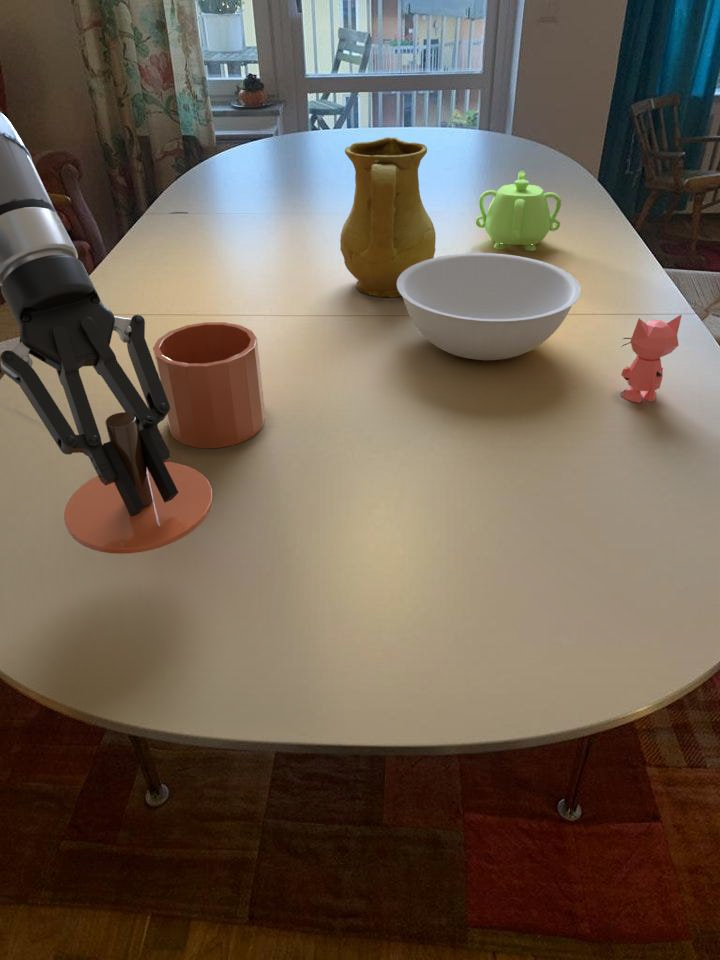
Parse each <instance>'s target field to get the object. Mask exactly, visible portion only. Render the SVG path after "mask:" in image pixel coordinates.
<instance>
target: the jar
mask: <svg viewBox="0 0 720 960" xmlns="http://www.w3.org/2000/svg"><path fill="white" fill-rule="evenodd" d="M152 351H153V357H154V361H155V367H156V370H157V373H158V375H159V378H160V381H161V383H162V386H163V389H164V392H165V394H166V397H167V400H168V402H169V405H170V410H169V412H168V413H167V415H166V417H165V418H166V421H167V422H166V423H167V426H168V428H169V433H170V435H171V436H172V437H173V439H175V440H176V441H177V442H179V443H181V444H182V445H185V446H188V447H192V448H199V449H219V448H220V449H221V448H225V447H231V446H235V445H238V444H240V443H243V442H246V441H248V440H249V439H251V438H253V437H254V436H255V435H257V434H258V433H259V432H260V431H261V429H262V428H264V424H265V421H266V417H265V416H266V410H265V400H264V391H263V380H262V372H261V362H260V353H259V344H258V338H257V336H256V335H255V333H254V332H253V330H252V329H249V328H247V327H246V326H244V325H240V324H236V323H231V322H225V321H224V322H223V321H207V322H205V321H204V322H199V323H193V324H187V325H184V326H181V327H177V328H175V329H171V330H169V331H168V332H166V333H165V334H163V335H162V336H161V337H159V338H158V339H157V340H156V342H155V344H154V346H153V348H152Z"/></svg>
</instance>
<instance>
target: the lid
mask: <svg viewBox="0 0 720 960" xmlns="http://www.w3.org/2000/svg"><path fill="white" fill-rule="evenodd" d="M104 423H105V427H106V431H107V436H108V439H109V441H112V442H113V444H114V446H115V448H116V450H117V452H118V454H119V456H120V458H121V460H122V462H123V464H124V466H125V469H126V471H127V473H128V475H129V477H130V479H131V481H132V483H133V485H134V487H135V489H136V491H137V493H138V495H139V497H140V499H141V501H142V503H143V505H144V508H143V509H142V511H141V512H140V513H139V514H137V515H135V516H132V517H131V516H130V514H129V512H128V510H127V508H126V506H125V504H124V502H123V500H122V498H121V495H120V493H119V491H118V489H117V487H116V485H115V483H111V484H108V485H106V486H105V485H104V484H103V483H102V482H101V481H100V479H99V477H98V475H96V476H94V477H92V478H91V479H89V480H88V481H87V482H84V484H82V485H81V486H80V487H79V488H78V489H76V491H74V492H73V494H72V495H71V496H70V498H69V499H68V501H67V503H66V505H65V509H64V512H63V513H64V514H63V519H64V524H65V527H66V530H67V532H68V534H69V535H70V536H71V538H72V539H73V540H74V541H76V542H77V543H78V544H80V545H81V546H83V547H85V548H87V549H90V550H91V551H92V550H93V551H96V552H100V553H107V554H119V555H123V554H136V553H144V552H148V551H153V550H156V549H159V548H162V547H165V546H169V545H171V544H173V543H176V542H177V541H179V540H181V539H183V538H185V537H186V536H188V535H190V534H191V533H193V531H195V530H196V529H197V528H198V527H200V526H201V525H202V524H203V522H204V521H205V520H206V519H207V518H208V515H209V514H210V512H211V510H212V507H213V502H214V495H213V489H212V485H211V483H210V481H209V480H208V479H207V478H206V476H204V474H202V473H201V472H200V471H198V470H197V469H195V468H193V467H191V466H188V465H185V464H182V463H177V462H173V461H167V462H164V464H165V466H166V468H167V470H168V472H169V474H170V476H171V478H172V480H173V482H174V484H175V486H176V488H177V490H178V492H179V493H178V494H177V495H176V496H175V497H174V498H173V499H172V500H170V501H168V502H164V500H163V498H162V496H161V494H160V492H159V490H158V488H157V486H156V484H155V482H154V480H153V478H152V476H151V474H150V472H149V470H148V468H147V466H146V462H145V457H144V452H143V448H142V443H141V438H140V434H139V429H138V425H137V420H136V416H135V415H134V414H132V413H128V412H125V411H123V412H116V413H114V414H113V413H112V414H110V416H107V418H106V419H105V422H104Z"/></svg>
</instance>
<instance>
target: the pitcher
mask: <svg viewBox="0 0 720 960" xmlns="http://www.w3.org/2000/svg"><path fill="white" fill-rule="evenodd" d="M427 153H428V147H427V145H425V143H419V142H407V141H404V140H400V139H399V138H398V137H396V136H394V137H390V136H386V137H382V138H379V139H376V140H372V141H363V142H362V141H361V142H354V143H352V144H350V145H349V146H346V147H345V149H344V154H345V155H346V156H347V157H348V159H349V160H350V162H351V163H352V165H353V168H354V171H355V174H354V182H355V186H354V196H353V202H352V203H353V204H352V206H351V208H350V209H351V210H350V212H349V214H348V216H347V218H346V220H345V222H344V223H343V225H342V228H341V233H340V237H339V239H340V240H339V242H340V243H339V244H340V246H339V247H340V249H339V250H340V252H341V254H342V256H343V263H344V265H345V268H346V269H347V271H348V272H349V273H350V274H351V275H352V276H353V277H354V278H355V279H356V280H357V281H356V283H355V285H354V287H355V288H356V290H358V291H359V292H361V293H364V294H366V295H368V296H374V297H377V298H384V297H387V298H399V297H403V296H402V295H401V294H400V293H399V291H398V289H397V279H398V277H399V276H400V274H401V273H402V272H403V271H405V270H406V269H407V268H409V267H411V266H413V265H415V264H417V263H419V262H422V261H425V260H428V259H432V258H435V253H436V240H437V239H436V229H435V226H434V223H433V220H432V219H431V217H430V216H429V214H428V212H427V210H426V208H425V206H424V204H423V201H422V197H421V191H420V180H419V169H420V168H419V167H420V165H421V161H422V160H423V158H424V157H425V156H426V155H427Z"/></svg>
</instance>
